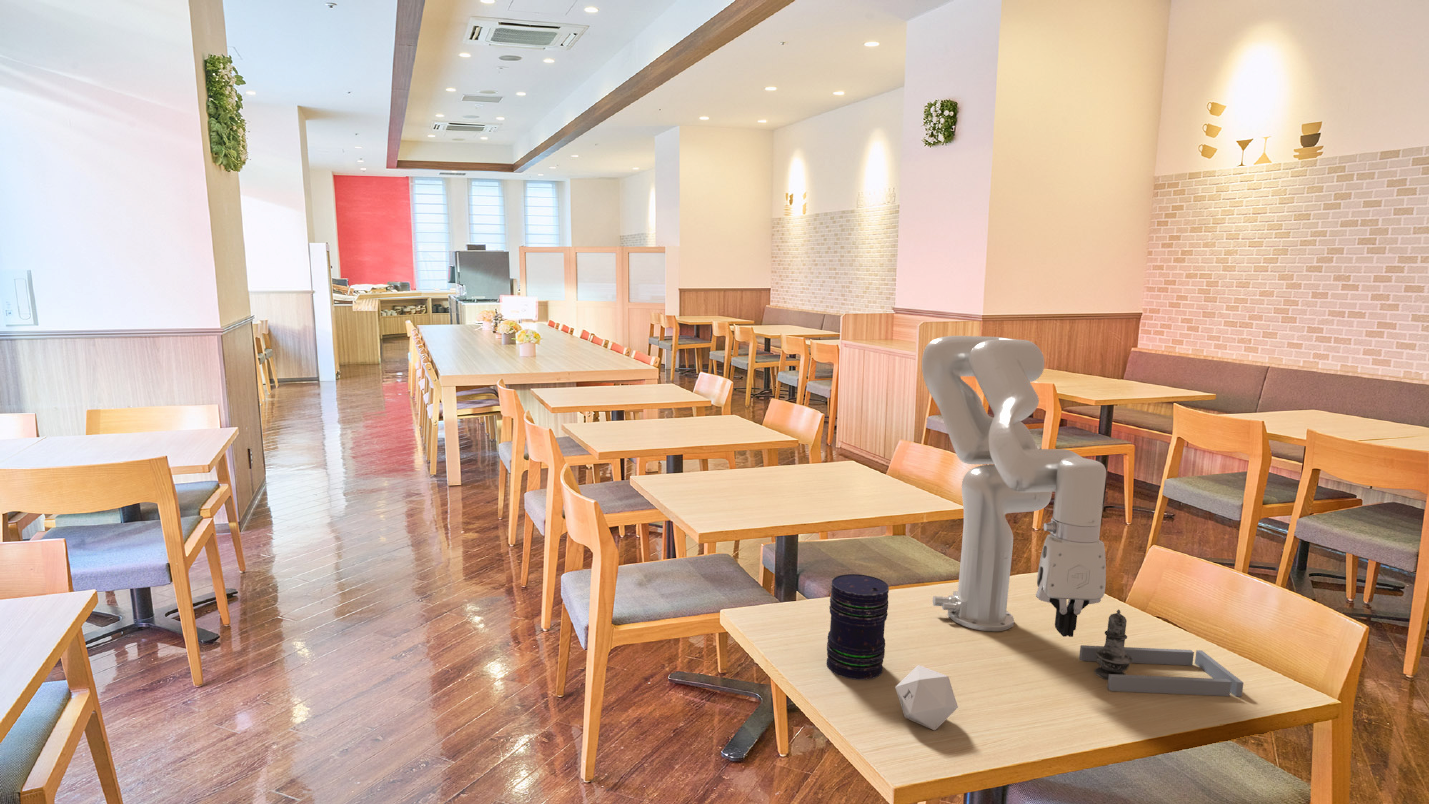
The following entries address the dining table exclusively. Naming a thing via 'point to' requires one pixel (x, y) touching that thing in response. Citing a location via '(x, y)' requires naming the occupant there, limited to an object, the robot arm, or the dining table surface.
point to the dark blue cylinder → (857, 626)
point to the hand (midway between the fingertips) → (1064, 633)
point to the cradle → (1173, 685)
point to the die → (926, 697)
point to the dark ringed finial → (1113, 648)
